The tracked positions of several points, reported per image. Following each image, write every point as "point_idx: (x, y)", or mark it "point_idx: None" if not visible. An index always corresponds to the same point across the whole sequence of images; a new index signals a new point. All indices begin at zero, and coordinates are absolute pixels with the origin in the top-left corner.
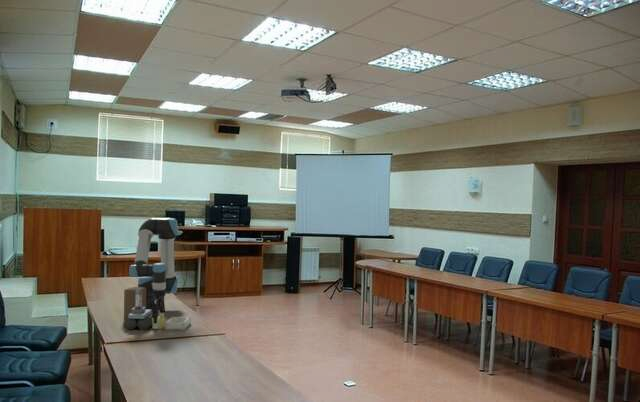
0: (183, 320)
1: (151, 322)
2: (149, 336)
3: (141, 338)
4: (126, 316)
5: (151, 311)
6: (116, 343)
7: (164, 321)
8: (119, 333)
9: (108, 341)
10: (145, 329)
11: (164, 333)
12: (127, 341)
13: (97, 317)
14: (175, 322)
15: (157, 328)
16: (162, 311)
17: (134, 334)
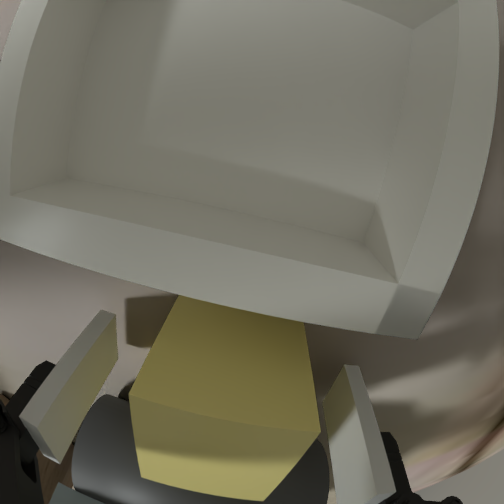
0: (76, 17)
1: None
2: (498, 370)
3: (499, 398)
4: (71, 486)
5: (54, 493)
6: (485, 452)
7: (182, 338)
8: (331, 498)
9: (439, 481)
10: None
11: (500, 270)
12: (493, 432)
13: None
14: (449, 125)
15: (358, 370)
16: (16, 447)
17: None
